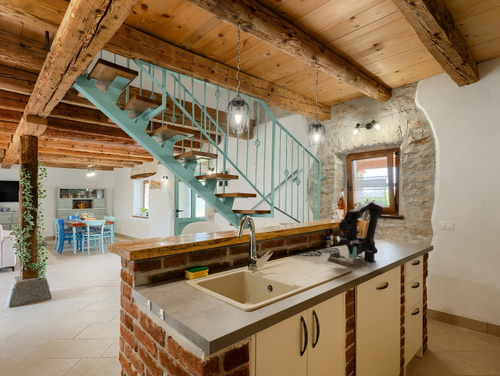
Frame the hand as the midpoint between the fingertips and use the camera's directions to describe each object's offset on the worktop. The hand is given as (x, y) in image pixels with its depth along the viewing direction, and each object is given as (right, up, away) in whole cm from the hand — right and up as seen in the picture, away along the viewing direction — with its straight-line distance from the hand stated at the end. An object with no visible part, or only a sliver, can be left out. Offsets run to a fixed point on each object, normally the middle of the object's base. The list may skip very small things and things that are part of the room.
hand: (352, 253), depth 184 cm
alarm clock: (+13, -8, +26) cm, 30 cm away
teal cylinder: (0, -5, 0) cm, 5 cm away
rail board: (-2, -7, +4) cm, 9 cm away
